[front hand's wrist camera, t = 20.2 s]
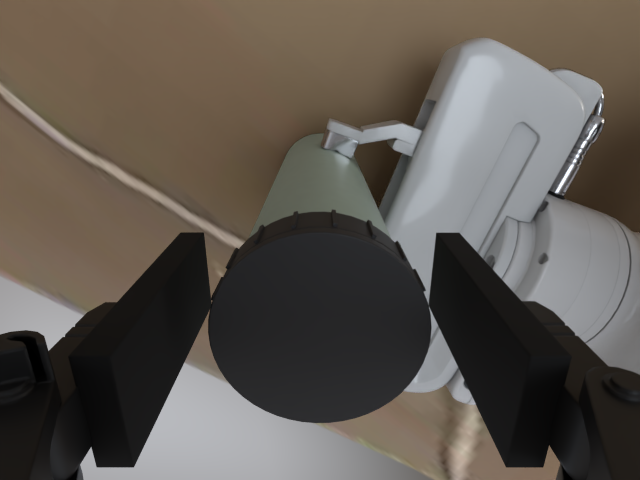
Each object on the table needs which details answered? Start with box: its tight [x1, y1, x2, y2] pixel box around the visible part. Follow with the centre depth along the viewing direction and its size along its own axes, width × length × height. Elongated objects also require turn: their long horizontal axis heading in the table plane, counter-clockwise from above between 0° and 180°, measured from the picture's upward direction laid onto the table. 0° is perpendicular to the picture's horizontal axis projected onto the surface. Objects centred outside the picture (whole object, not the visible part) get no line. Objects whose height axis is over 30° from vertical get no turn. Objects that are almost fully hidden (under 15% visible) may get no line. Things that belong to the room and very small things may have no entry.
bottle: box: [248, 134, 391, 239], centre depth 20 cm, size 5×5×19 cm
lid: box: [208, 209, 432, 423], centre depth 11 cm, size 6×6×2 cm
